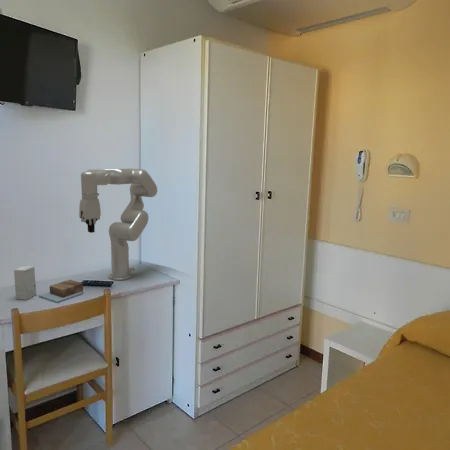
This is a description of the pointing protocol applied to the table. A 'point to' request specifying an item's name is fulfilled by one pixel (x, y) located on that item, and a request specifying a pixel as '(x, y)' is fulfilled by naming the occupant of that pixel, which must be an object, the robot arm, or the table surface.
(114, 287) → the table surface
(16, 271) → the skincare box
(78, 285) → the walnut slab
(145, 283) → the table surface
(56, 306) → the table surface
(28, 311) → the table surface
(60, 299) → the mat
